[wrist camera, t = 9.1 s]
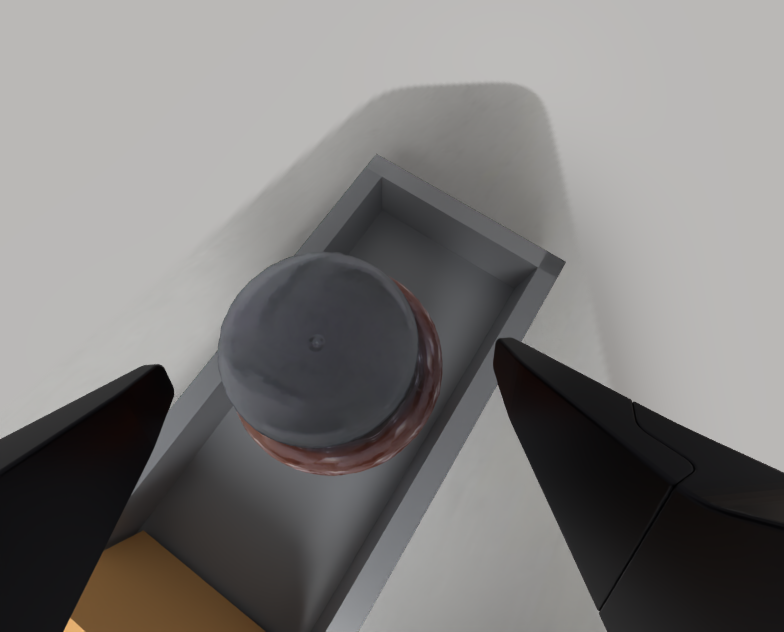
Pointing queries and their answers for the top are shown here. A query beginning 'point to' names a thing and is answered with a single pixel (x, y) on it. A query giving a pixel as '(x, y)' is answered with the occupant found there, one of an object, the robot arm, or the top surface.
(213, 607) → the pusher
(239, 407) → the supplement bottle
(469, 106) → the top surface
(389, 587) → the top surface
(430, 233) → the tray
